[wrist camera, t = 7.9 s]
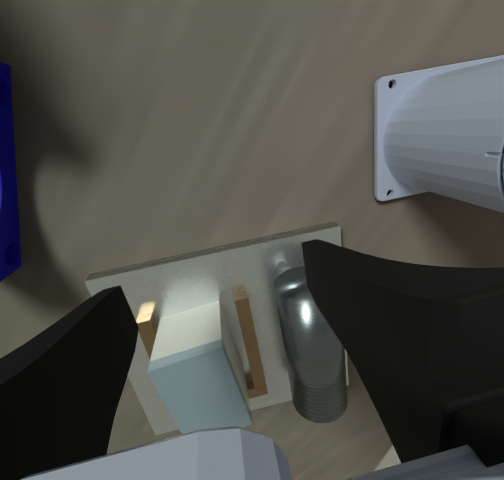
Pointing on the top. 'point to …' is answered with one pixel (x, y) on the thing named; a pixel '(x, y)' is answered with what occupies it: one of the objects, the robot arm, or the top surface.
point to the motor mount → (243, 320)
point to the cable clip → (8, 182)
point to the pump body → (200, 370)
